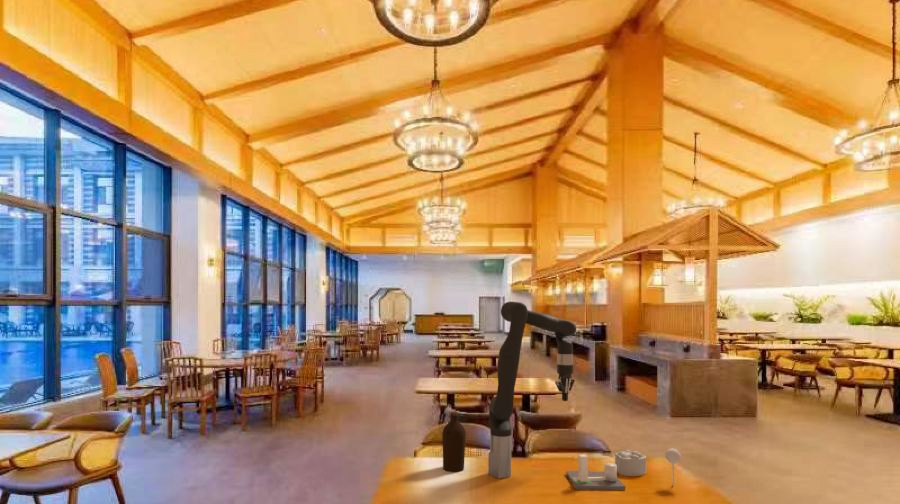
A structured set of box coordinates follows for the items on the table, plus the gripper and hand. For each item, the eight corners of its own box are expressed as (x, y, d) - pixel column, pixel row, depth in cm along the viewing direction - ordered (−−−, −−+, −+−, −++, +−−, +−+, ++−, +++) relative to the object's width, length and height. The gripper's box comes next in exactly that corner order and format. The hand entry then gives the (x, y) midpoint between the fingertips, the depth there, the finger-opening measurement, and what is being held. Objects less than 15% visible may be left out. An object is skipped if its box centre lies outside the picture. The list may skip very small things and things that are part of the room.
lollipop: (680, 484, 224) (680, 447, 226) (682, 488, 219) (681, 451, 220) (665, 482, 226) (664, 446, 228) (665, 486, 221) (665, 449, 222)
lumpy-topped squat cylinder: (613, 468, 244) (613, 448, 245) (640, 468, 245) (640, 448, 246) (622, 476, 234) (622, 455, 234) (651, 475, 235) (650, 455, 235)
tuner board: (576, 489, 216) (576, 485, 216) (566, 474, 234) (566, 470, 234) (625, 490, 216) (625, 486, 216) (611, 475, 234) (611, 471, 234)
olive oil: (465, 473, 234) (466, 414, 236) (441, 472, 234) (442, 414, 236) (465, 465, 244) (466, 409, 246) (442, 464, 245) (443, 409, 247)
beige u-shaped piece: (613, 477, 226) (613, 453, 226) (619, 481, 221) (618, 456, 221) (571, 478, 223) (571, 454, 224) (576, 482, 218) (576, 457, 219)
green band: (589, 479, 224) (589, 478, 224) (592, 482, 220) (592, 482, 220) (572, 479, 223) (572, 479, 223) (576, 483, 219) (576, 482, 219)
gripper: (563, 365, 245) (563, 403, 243) (579, 363, 254) (579, 400, 253) (550, 363, 250) (550, 401, 249) (566, 361, 259) (566, 397, 258)
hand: (565, 400), depth 251 cm, fingers closed
